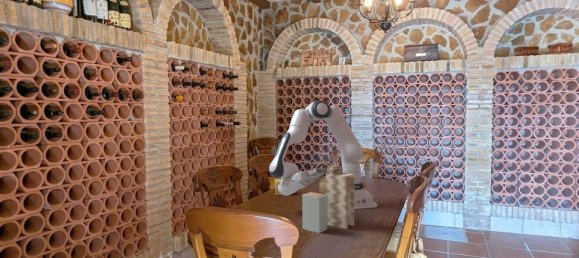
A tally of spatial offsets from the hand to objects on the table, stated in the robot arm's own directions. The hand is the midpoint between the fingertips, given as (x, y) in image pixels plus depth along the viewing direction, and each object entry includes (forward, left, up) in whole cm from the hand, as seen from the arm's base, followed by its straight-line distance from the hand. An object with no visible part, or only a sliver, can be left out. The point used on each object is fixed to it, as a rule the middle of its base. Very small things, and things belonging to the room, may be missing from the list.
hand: (319, 169), depth 189 cm
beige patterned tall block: (-9, +9, -27) cm, 30 cm away
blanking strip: (-2, +2, -1) cm, 4 cm away
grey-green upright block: (+5, +14, -27) cm, 31 cm away
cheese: (+15, -62, -27) cm, 69 cm away
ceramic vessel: (-16, -40, -27) cm, 51 cm away
